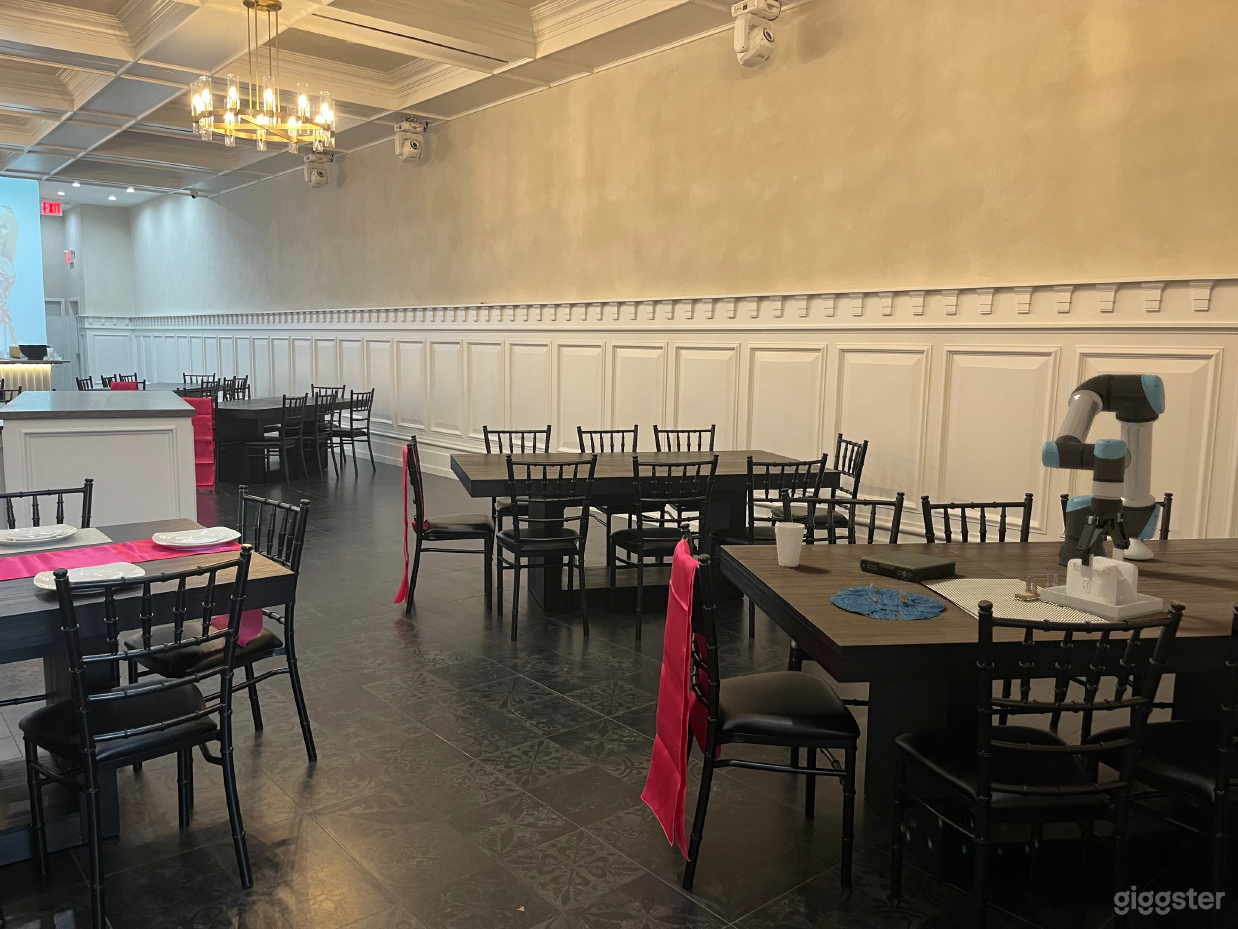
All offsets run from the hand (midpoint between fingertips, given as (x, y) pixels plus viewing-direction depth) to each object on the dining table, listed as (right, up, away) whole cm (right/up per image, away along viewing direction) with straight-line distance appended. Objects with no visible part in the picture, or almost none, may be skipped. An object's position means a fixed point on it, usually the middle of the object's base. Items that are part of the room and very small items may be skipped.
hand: (1101, 575), depth 245 cm
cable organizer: (0, -8, +1) cm, 8 cm away
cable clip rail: (-7, -7, +13) cm, 17 cm away
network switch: (-40, -5, +40) cm, 57 cm away
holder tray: (0, -9, +1) cm, 9 cm away
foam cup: (-75, -3, +50) cm, 90 cm away
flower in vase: (+48, -3, +68) cm, 83 cm away
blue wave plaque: (-58, -9, -1) cm, 59 cm away
